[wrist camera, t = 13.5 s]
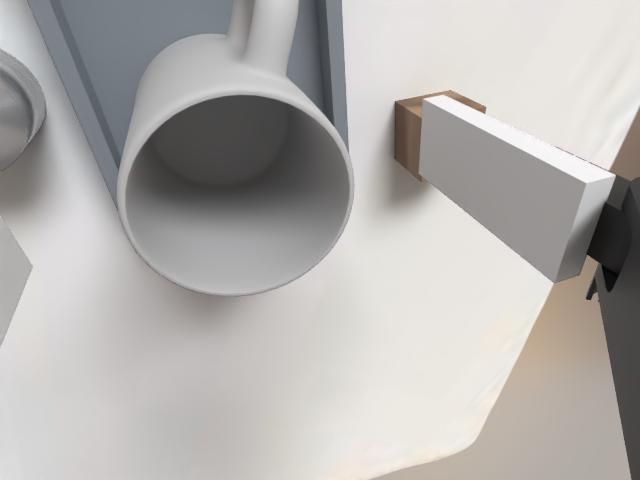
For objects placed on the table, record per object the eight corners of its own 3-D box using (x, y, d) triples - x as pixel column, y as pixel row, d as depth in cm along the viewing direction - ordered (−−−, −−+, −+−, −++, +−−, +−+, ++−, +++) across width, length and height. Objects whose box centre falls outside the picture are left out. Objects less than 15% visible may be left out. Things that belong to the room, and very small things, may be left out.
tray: (138, 232, 27) (136, 253, 25) (0, -102, 17) (-21, -110, 15) (339, 187, 29) (351, 203, 27) (318, -126, 20) (335, -134, 18)
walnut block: (394, 157, 29) (421, 182, 26) (394, 101, 27) (424, 120, 24) (444, 146, 30) (477, 168, 27) (449, 89, 28) (486, 106, 25)
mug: (272, 193, 27) (320, 304, 18) (129, 172, 24) (105, 295, 15) (327, -12, 22) (432, 7, 13) (151, -78, 18) (133, -112, 10)
